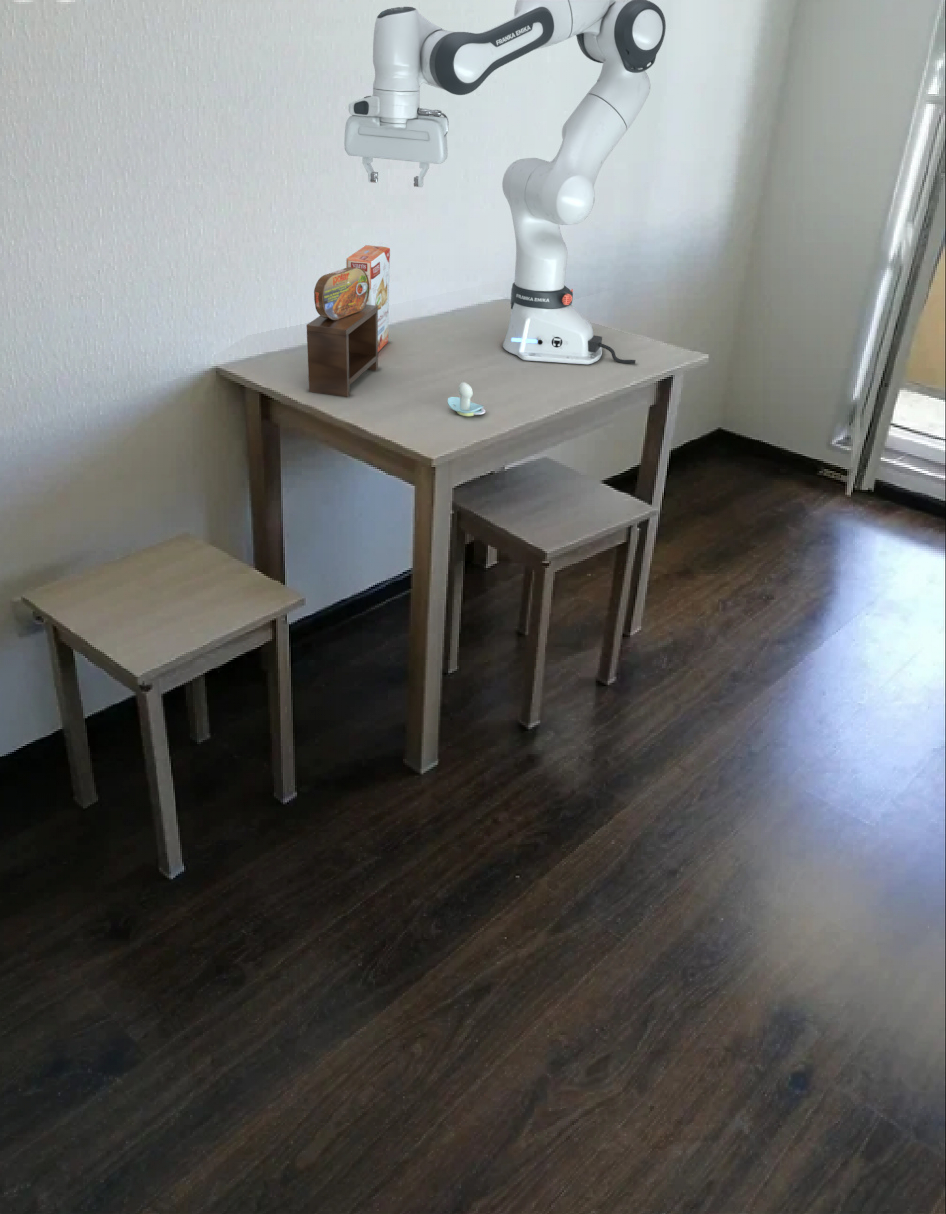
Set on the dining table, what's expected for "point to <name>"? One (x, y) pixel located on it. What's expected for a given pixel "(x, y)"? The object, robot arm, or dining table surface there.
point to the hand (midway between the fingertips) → (395, 184)
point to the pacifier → (465, 402)
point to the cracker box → (375, 283)
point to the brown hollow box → (341, 350)
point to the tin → (341, 293)
